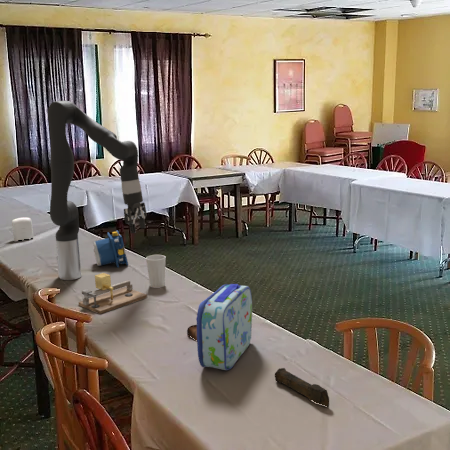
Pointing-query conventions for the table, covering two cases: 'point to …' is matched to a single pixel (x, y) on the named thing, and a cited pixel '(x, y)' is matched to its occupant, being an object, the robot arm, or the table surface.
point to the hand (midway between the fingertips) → (138, 230)
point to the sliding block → (104, 282)
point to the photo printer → (22, 228)
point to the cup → (156, 270)
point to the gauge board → (104, 301)
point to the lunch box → (224, 326)
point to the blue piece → (110, 250)
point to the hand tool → (303, 387)
